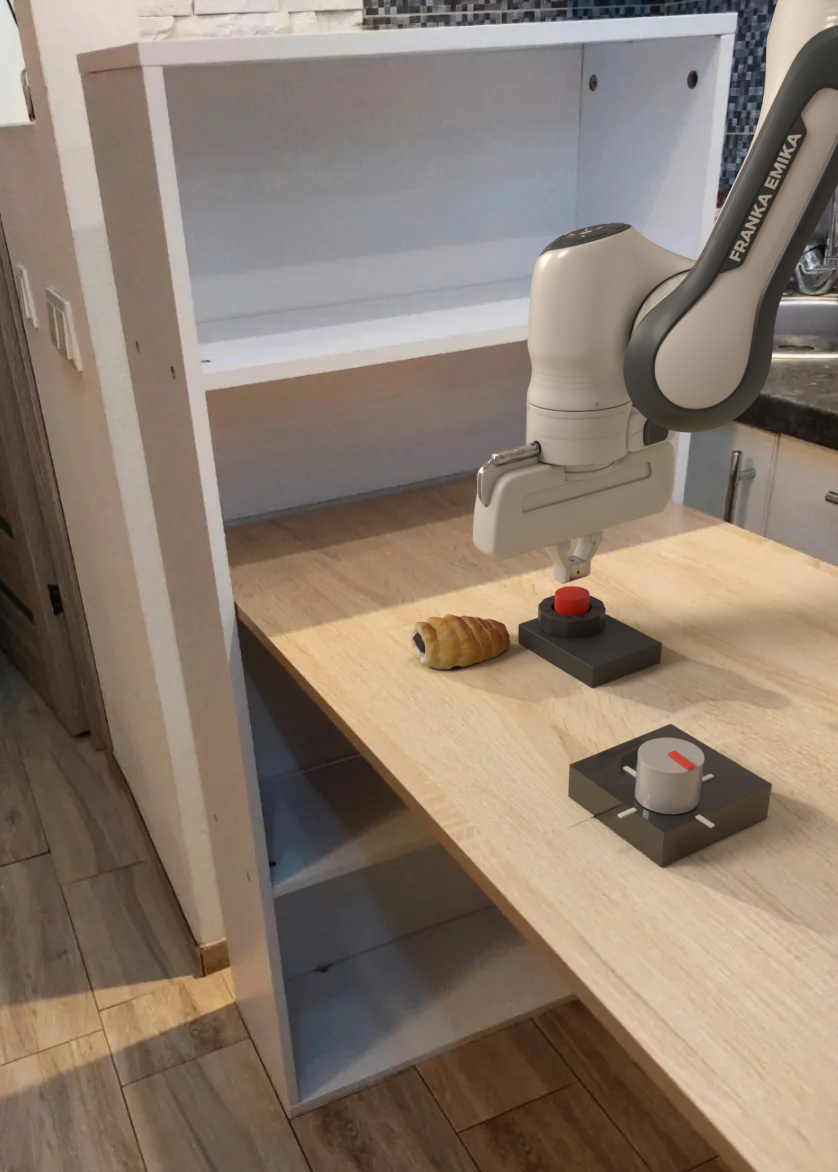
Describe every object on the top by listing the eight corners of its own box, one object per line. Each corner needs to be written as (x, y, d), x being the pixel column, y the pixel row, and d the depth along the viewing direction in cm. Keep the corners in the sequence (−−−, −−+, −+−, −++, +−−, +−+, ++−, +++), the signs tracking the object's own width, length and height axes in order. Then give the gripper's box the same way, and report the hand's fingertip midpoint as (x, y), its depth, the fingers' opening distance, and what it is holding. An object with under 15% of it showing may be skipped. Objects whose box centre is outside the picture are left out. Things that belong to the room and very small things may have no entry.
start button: (574, 599, 99) (574, 583, 98) (595, 611, 97) (596, 594, 96) (547, 608, 98) (547, 591, 97) (568, 620, 96) (569, 603, 95)
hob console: (667, 755, 82) (670, 721, 80) (781, 827, 73) (787, 791, 72) (554, 802, 78) (555, 768, 76) (660, 885, 69) (664, 848, 67)
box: (582, 621, 103) (583, 585, 101) (660, 663, 95) (664, 625, 93) (517, 643, 100) (517, 606, 98) (592, 689, 92) (594, 650, 90)
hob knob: (621, 789, 73) (624, 744, 72) (672, 771, 75) (676, 727, 73) (661, 821, 70) (665, 775, 68) (713, 803, 71) (719, 757, 69)
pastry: (494, 629, 103) (494, 595, 101) (521, 659, 98) (522, 623, 96) (405, 647, 101) (404, 612, 100) (428, 678, 96) (426, 642, 94)
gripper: (500, 465, 83) (500, 620, 90) (692, 416, 90) (677, 562, 97) (456, 448, 88) (459, 595, 95) (642, 402, 95) (631, 542, 102)
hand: (571, 578), depth 96 cm, fingers closed
